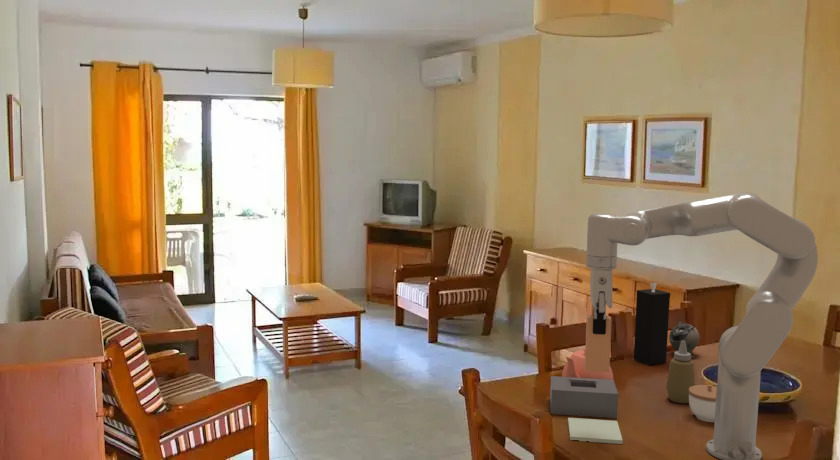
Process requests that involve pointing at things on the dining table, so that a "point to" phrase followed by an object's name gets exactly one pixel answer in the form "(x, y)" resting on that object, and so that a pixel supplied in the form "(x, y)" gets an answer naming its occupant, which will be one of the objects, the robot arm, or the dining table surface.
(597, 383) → the dispenser
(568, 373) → the teapot
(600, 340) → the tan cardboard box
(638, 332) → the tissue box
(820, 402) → the dining table surface
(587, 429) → the mat
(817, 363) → the dining table surface
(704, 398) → the lidded jar
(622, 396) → the dining table surface
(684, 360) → the squeeze bottle
